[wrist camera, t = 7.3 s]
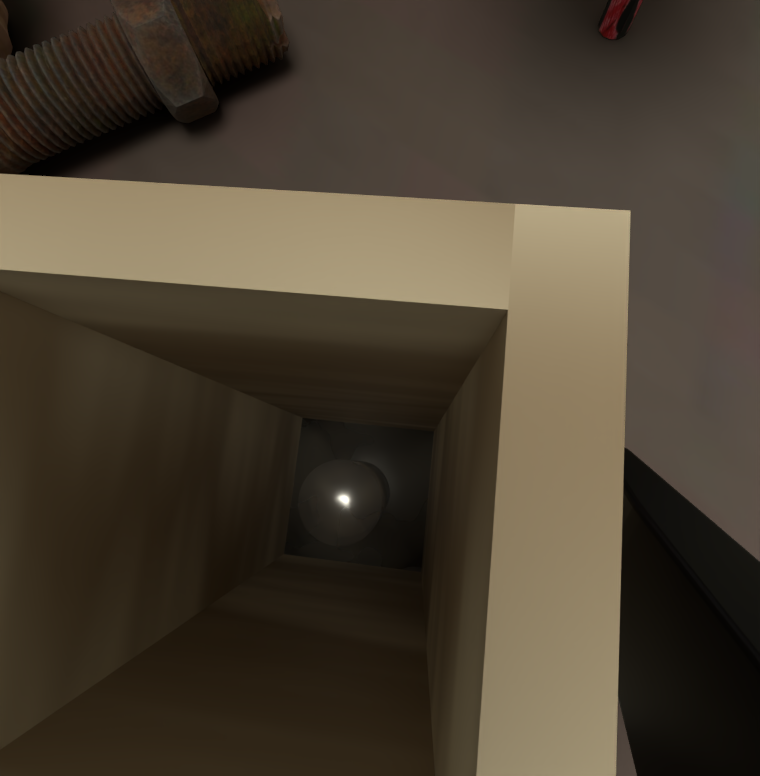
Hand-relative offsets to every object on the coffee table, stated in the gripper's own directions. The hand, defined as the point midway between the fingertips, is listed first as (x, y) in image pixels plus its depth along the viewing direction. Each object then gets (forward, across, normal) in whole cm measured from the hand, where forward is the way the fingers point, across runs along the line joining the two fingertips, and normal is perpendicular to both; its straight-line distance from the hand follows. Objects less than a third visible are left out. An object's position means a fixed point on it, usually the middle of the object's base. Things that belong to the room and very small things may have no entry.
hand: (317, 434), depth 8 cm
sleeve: (+4, 0, +6) cm, 8 cm away
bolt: (+16, +12, -2) cm, 20 cm away
